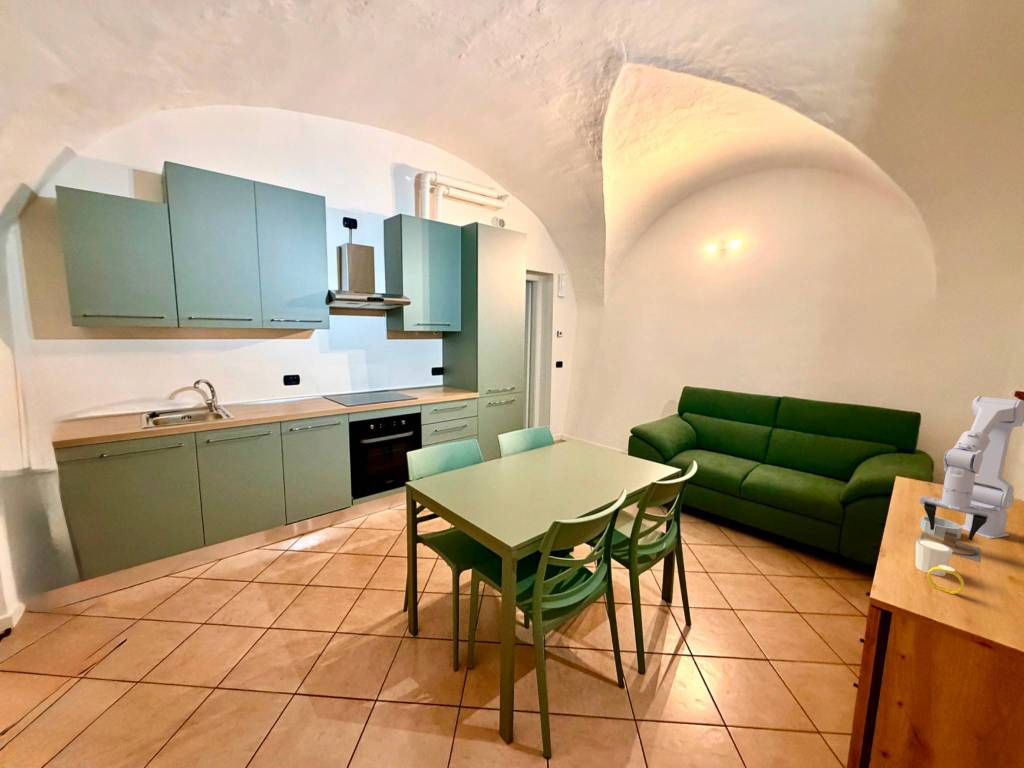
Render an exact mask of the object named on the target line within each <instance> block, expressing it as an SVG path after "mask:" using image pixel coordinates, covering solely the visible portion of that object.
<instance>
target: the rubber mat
mask: <svg viewBox="0 0 1024 768" xmlns="http://www.w3.org/2000/svg"><path fill="white" fill-rule="evenodd" d="M929 535H932V536H935V535H933V534H930V533H927V532H922V533H921V535H920V538H919V539H924V537H925V536H929ZM966 544H967V543H966ZM967 545H969V546H971V547H972V548H974V549H975V550H976V554H975V555H972V556H967V555H959V554H954V553H952V555H953V556H957V557H961V558H964V559H967V560H971V561H974V562H978V563H980V561H981V547H979V546H975V545H971V544H967Z"/></svg>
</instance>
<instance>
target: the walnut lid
mask: <svg viewBox="0 0 1024 768" xmlns="http://www.w3.org/2000/svg"><path fill="white" fill-rule="evenodd" d="M932 535H933V534H931V535H929V536H925V537H924V539H925V540H931V541H934V542H938V543H941V544H944V545H946V546H948V547H950V548H951V549H952V550H953V552H952V553H954V554H959V555H967V556H972V555H975V554H976V550H975V549H974V548H972V547H971V546H969V545H970V544H968V545H967V543H964V542H961V541H959V540H958V539H957V534H955V533H951V532H947V531H945V536H944V537H940V536H936V535H934V536H932Z"/></svg>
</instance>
